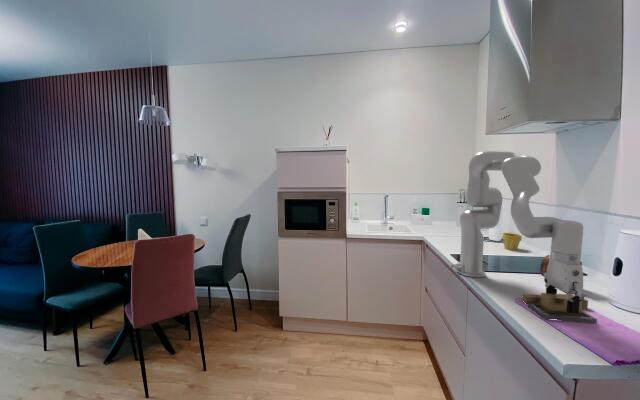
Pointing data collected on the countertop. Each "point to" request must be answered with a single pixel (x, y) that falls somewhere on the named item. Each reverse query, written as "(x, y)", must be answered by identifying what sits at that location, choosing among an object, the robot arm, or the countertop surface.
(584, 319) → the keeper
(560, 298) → the bar
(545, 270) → the tin
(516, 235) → the plant pot
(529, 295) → the door edge strip
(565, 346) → the countertop surface
